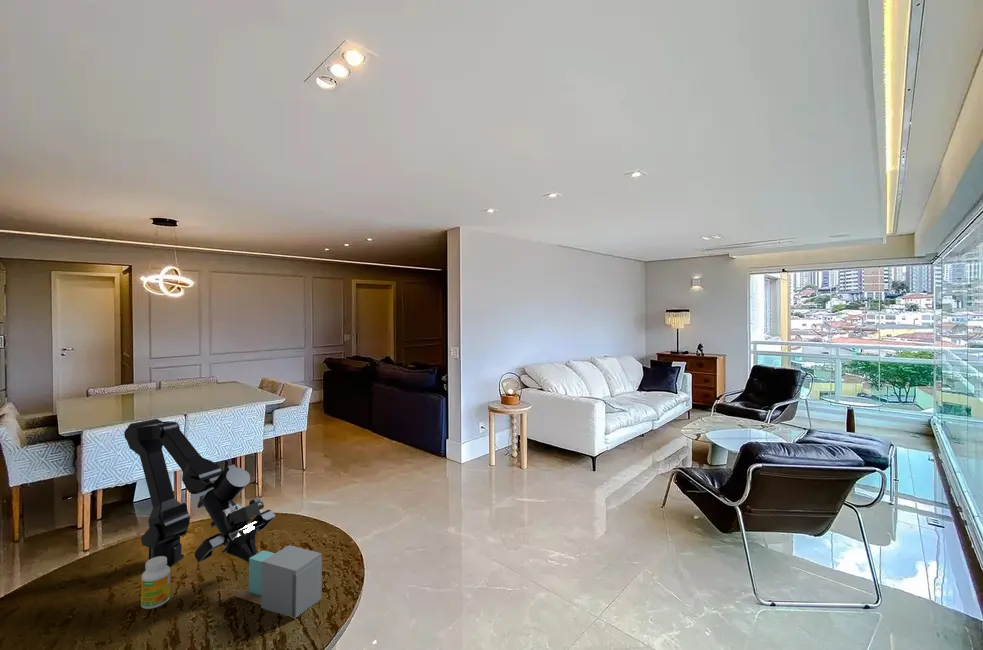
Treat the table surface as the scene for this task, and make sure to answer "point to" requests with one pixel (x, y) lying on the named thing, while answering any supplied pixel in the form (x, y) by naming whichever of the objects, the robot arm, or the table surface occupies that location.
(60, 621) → the table surface
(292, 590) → the socket
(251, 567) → the slider
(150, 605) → the supplement bottle
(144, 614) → the table surface
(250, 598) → the track
